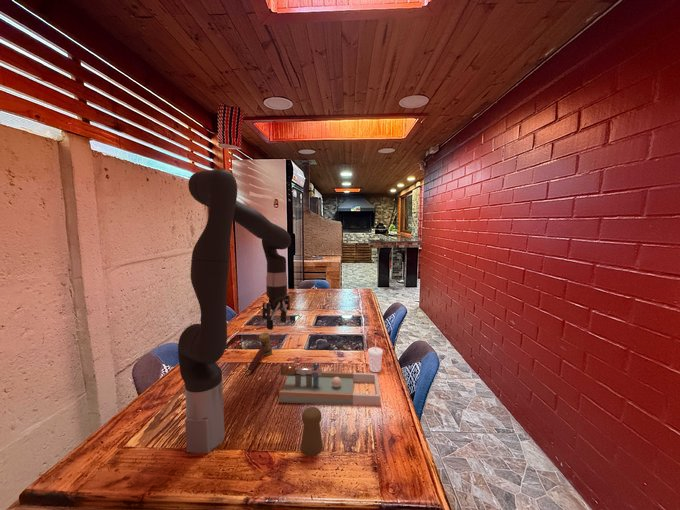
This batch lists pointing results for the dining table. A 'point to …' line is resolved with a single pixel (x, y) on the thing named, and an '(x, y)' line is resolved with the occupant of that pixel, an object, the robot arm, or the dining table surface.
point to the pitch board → (329, 389)
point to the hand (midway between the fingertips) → (277, 325)
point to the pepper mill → (311, 432)
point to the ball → (336, 381)
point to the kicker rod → (303, 372)
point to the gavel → (261, 351)
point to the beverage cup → (375, 358)
